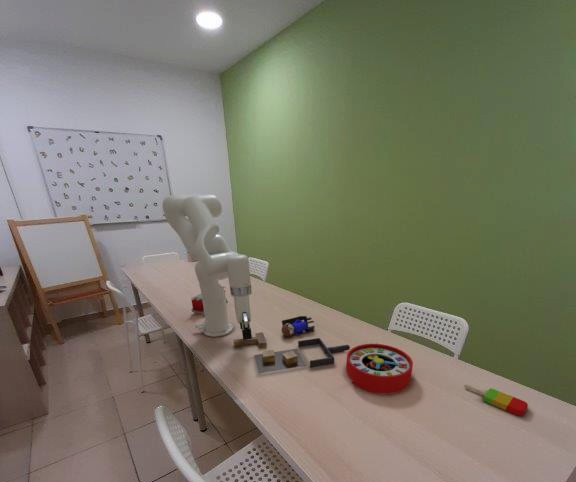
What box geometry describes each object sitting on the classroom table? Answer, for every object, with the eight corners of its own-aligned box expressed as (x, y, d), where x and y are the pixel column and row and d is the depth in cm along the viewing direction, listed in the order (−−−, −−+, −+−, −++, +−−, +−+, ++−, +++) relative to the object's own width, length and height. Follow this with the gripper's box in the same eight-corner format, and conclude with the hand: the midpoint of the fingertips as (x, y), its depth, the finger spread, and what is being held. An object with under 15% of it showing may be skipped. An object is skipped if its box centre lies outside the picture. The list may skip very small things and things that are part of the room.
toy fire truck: (230, 305, 158) (227, 287, 154) (203, 318, 143) (200, 298, 139) (217, 302, 162) (215, 284, 158) (190, 314, 148) (187, 295, 144)
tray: (259, 375, 98) (259, 373, 98) (254, 357, 109) (254, 355, 108) (306, 368, 101) (306, 365, 101) (296, 351, 112) (296, 348, 112)
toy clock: (352, 340, 106) (412, 348, 100) (351, 354, 109) (410, 363, 102) (341, 370, 89) (413, 382, 83) (340, 386, 91) (410, 399, 85)
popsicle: (521, 418, 77) (523, 412, 76) (460, 391, 88) (461, 386, 87) (527, 408, 80) (529, 402, 80) (467, 383, 91) (468, 378, 90)
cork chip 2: (287, 365, 101) (287, 358, 100) (282, 359, 105) (282, 353, 104) (297, 362, 103) (297, 355, 102) (292, 356, 106) (292, 350, 105)
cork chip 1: (263, 362, 103) (263, 356, 102) (262, 356, 107) (262, 350, 106) (275, 361, 104) (274, 355, 103) (273, 355, 107) (273, 349, 106)
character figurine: (317, 334, 125) (284, 342, 119) (308, 326, 131) (277, 334, 125) (318, 317, 121) (284, 325, 115) (309, 310, 127) (277, 317, 121)
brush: (235, 353, 111) (234, 346, 110) (233, 342, 119) (232, 335, 118) (267, 349, 114) (266, 341, 113) (263, 338, 122) (262, 331, 121)
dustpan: (310, 370, 100) (310, 361, 99) (298, 348, 114) (298, 340, 112) (358, 362, 104) (359, 353, 102) (341, 342, 117) (341, 334, 116)
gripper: (228, 285, 114) (234, 326, 120) (231, 298, 98) (238, 345, 105) (248, 282, 115) (252, 323, 122) (254, 295, 100) (259, 341, 106)
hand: (246, 333), depth 113 cm, fingers open, 9 cm apart
